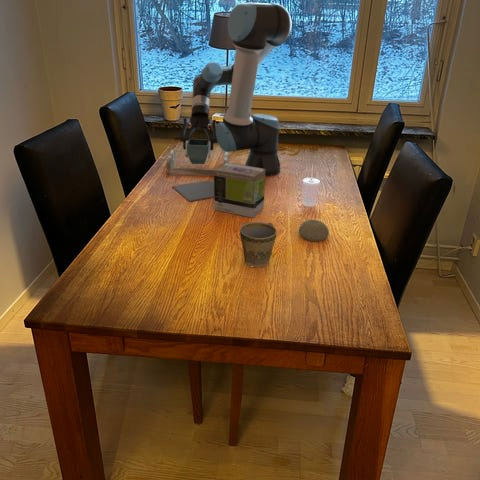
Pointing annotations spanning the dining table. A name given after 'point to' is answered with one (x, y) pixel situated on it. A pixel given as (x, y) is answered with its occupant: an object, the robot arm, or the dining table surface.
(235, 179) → the tea box
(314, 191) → the beverage cup
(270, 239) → the ceramic cup
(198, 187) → the mat
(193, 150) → the flower pot
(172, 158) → the holder
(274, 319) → the dining table surface
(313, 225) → the sea urchin shell
